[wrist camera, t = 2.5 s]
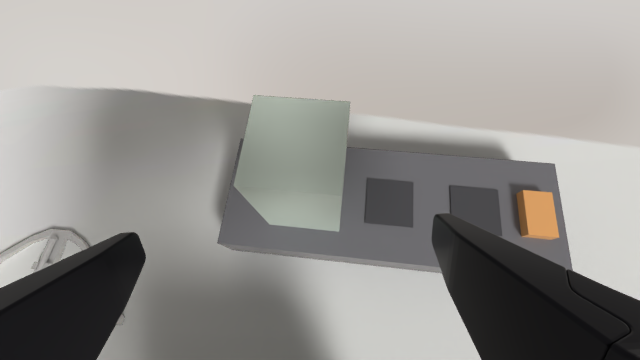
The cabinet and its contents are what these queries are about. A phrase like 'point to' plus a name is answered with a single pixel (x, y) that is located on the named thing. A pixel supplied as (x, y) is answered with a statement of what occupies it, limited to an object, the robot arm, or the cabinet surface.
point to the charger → (295, 161)
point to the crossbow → (49, 249)
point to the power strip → (413, 210)
